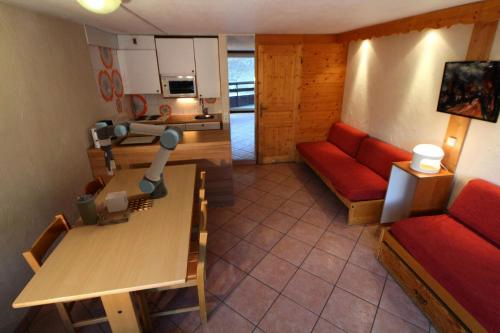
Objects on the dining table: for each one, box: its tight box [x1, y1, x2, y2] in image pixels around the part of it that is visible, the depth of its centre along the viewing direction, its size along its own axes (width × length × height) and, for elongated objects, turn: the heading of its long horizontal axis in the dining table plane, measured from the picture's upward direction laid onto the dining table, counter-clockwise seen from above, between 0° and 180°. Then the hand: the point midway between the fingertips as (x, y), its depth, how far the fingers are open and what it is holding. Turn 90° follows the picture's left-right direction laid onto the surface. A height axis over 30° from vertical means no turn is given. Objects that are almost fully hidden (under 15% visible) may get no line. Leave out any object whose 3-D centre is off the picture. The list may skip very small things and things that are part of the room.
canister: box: [75, 193, 100, 226], centre depth 170 cm, size 11×10×20 cm
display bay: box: [96, 207, 131, 227], centre depth 176 cm, size 18×14×3 cm
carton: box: [105, 190, 129, 213], centre depth 188 cm, size 12×10×11 cm
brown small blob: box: [95, 200, 106, 213], centre depth 186 cm, size 6×6×6 cm
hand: (112, 171), depth 188 cm, fingers open, 13 cm apart
